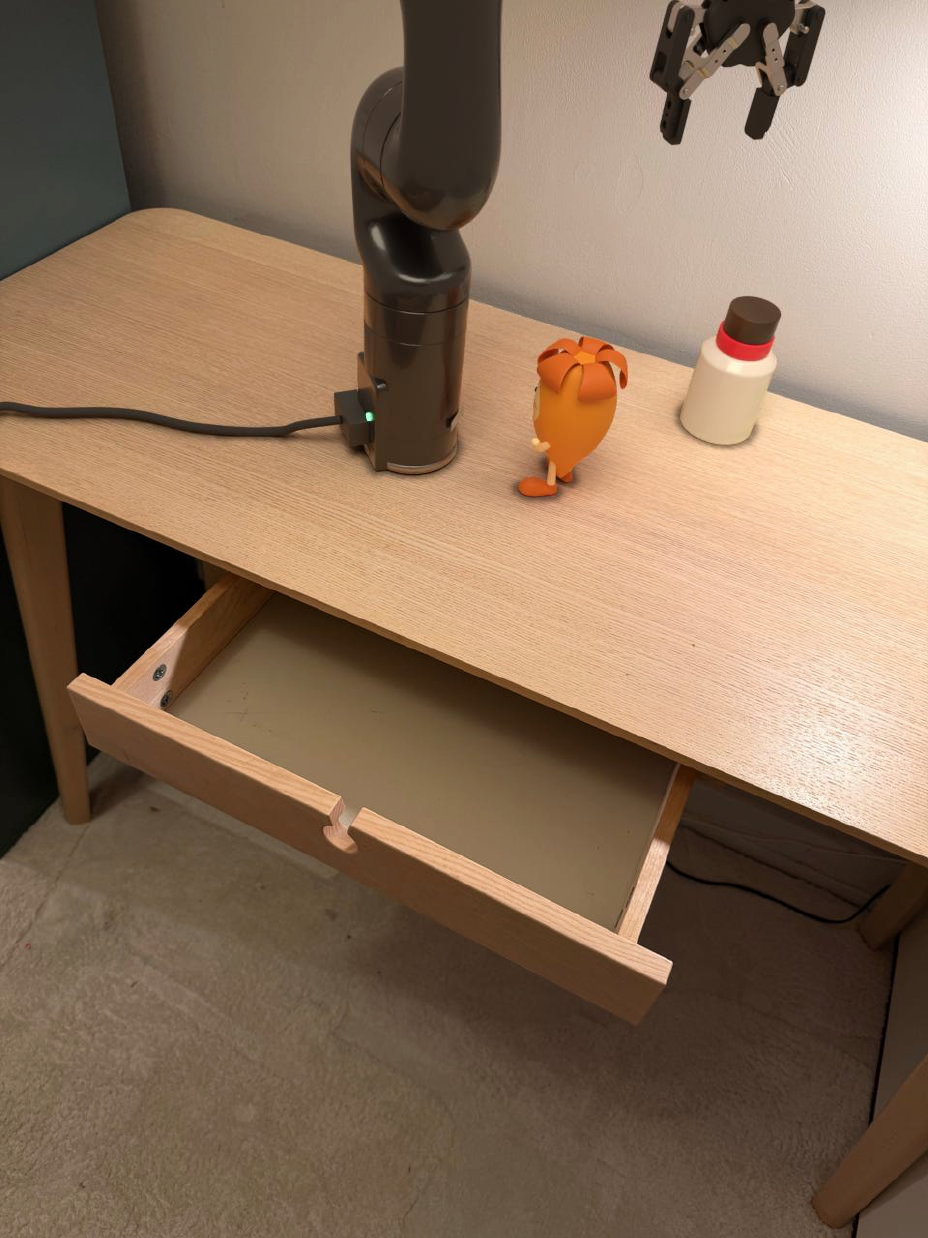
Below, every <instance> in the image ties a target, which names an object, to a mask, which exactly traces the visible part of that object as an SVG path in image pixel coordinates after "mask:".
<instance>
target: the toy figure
mask: <svg viewBox="0 0 928 1238" xmlns="http://www.w3.org/2000/svg"><path fill="white" fill-rule="evenodd" d="M560 350H562V351H560ZM536 363H537V366H536V370H535V371H536V373H537V375H538V377H539V380H538V383H537V386H535V388H534V398H533V405H532V423H533V428H534V432H535V435H536V437H533V438H532V439H531V440H530V446H531V448H532V450H534V451H536V452H538V453H542V452H544V453H545V455H546V457H547V460H546V466H547V468H548V470H547V476H546V480H544V479H543V478H540V477H536V476H529V477H525V478H523V479H522V480H521V481H520V482H519V484H518V490H519V492H520V494H522V495H524V496H527V497H543V496H552V495H555V494H556V493H557V492H558V486H557V481H556V477H557V478H558V479H560V480H561V481H563V482H566V483H569V482H571V481H572V480H573V469H574V468H575V467H576V466H577V465H578V464H579V463H580V462H581V461H583V460H584V459H585V458H586V457H587V456H588V455H590V454H591V453H592V452H593V451H594V450H595V449H596V448H598V446H600V444H601V443H602V441H603V440H604V438H605V437H606V435H607V434H608V432H609V430H610V428H611V426H612V424H613V421H614V418H615V415H616V410H617V404H618V386H617V381H616V377H615V373H614V370H613V367H612V364H614V365H615V366H616V367H617V368H618V369H620V371H619V376H618V380H619V381H618V382H619V387H620V389H621V390H625V389H626V387H627V386H628V383H629V370H628V362H627V358H626V356H625V355H624V354H623V353H621V352H620V351H618V350H615V348H614V346H613V345H612V344H610V343H608V342H607V341H604V340H601V339H598V338H594V337H591V336H586V335H582V336H581V337H580V338H579V339H578V342H576V340H574V339H572V338H568V337H563V338H560V339H558V340H556V341H554V342H553V343H552V344H550V345H549V346H548V347H546V348H545V349H544V350H543V351H542V352H541V353H540V354H539V355H538V357H537V361H536ZM611 363H612V364H611Z"/></svg>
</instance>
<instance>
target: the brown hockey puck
mask: <svg viewBox="0 0 928 1238" xmlns="http://www.w3.org/2000/svg"><path fill="white" fill-rule="evenodd" d="M781 318H782V311H781V309H780V307H778V306H777V305H776V304H775V303H773V302H771V301H770V300H768V299H765V298H763V297H760V296H759V297H758V296H755V295H754V296H752V295H742V296H737V297H735V298H733V299H732V300H731V301H730V302H729V306H728V308H727V312H726V315H725V317H724V320H725V321H724V320H723V321H724V324H723V329H724V331H725V333H726V334H727V335H728V336H729V337H731V338H732V339H734V340H736V341H738V342H741V343H744V344H749V345H763V344H767V343H769V342H770V341H771V340H772V339H773V337H774V335H775V334H776V331H777V329H778V326H779V323H780V321H781Z"/></svg>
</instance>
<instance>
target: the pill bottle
mask: <svg viewBox="0 0 928 1238" xmlns="http://www.w3.org/2000/svg"><path fill="white" fill-rule="evenodd" d="M724 321H725V319H723V320H722V321H721V323H720V324H719V327H718V330H717V333H715V334H713V335H711V336H709V337H707V338H706V339H705V340H704V341H703V343H702V344H701V346H700V349H699V352H698V356H697V358H696V362H695V365H694V369H693V371H692V375H691V377H690V381H689V384H688V387H687V391H686V394H685V397H684V400H683V403H682V407H681V410H680V415H679V418H680V423H681V425H682V426H683V428H684V429H685V430H686V431H687V432H688V433H689V434H691V435H692V436H694V437H695V438H697V439H699V440H701V441H703V442H706V443H710V444H713V445H721V446H729V445H730V446H731V445H736V444H740V443H742V442H744V441H746V440H747V439H748V438H749V437H750V435H751V434H752V431H753V430H754V429H753V428H754V426H755V423H756V422H757V419H758V416H759V414H760V411H761V408H762V405H763V403H764V401H765V398H766V396H767V393H768V391H769V387H770V385H771V383H772V380H773V378H774V374H775V372H776V369H777V367H778V357H777V356H776V353H775V352H774V350H773V348H772V347H773V345H774V343H775V339H776V335H775V334H774V337H773V339H772V340H771V341H770V342H769V343H767V344H763V345H749V344H744V343H741V342H738V341H736V340H734V339H732V338H731V337H729V336H728V335H727V334H726V333H725V331H724V329H723V324H724Z"/></svg>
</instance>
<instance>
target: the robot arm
mask: <svg viewBox="0 0 928 1238" xmlns="http://www.w3.org/2000/svg"><path fill="white" fill-rule="evenodd" d="M399 6H400V11H401V12H400V13H401V20H402V22H401V23H402V32H403V65H401V66H396V67H393V68H390V69H388V70H386V71H383V73H381V74H379V75H378V76H377V77H375V78H374V79H373V80H372V81H371V83H370V84H369V85H368V86H367V88H366V89H365V91H363V94H362V96H361V98H360V99H359V101H358V104H357V106H356V110H355V113H354V117H353V120H352V126H351V130H350V131H351V132H350V146H349V150H350V151H349V156H350V157H349V159H350V160H349V161H350V163H349V164H350V186H351V203H352V204H351V205H352V220H353V221H352V223H353V224H352V225H353V235H354V240H355V245H356V249H357V253H358V256H359V258H360V259H359V260H360V262H361V266H362V273H363V274H362V277H363V278H362V279H363V280H362V281H363V286H362V287H363V351H359V352H358V353H357V355H356V364H357V365H356V369H357V370H356V371H357V389H355V388H354V389H347V390H342V391H335V392H333V406H334V407H333V409H334V415H331V416H324V417H322V416H321V417H315V418H308V419H303V420H297V421H294V422H291V423H288V424H286V425H285V424H284V425H280V426H262V427H261V426H259V427H257V426H256V427H255V426H250V427H249V426H236V425H235V426H233V425H223V424H222V425H221V424H213V423H204V422H195V421H190V420H185V419H181V418H176V417H172V416H167V415H164V414H159V413H156V412H152V411H147V410H140V409H135V408H127V407H125V408H124V407H115V406H114V407H112V406H111V407H110V406H74V407H72V406H71V407H69V406H68V407H60V406H59V407H58V406H57V407H55V406H54V407H53V406H52V407H51V406H49V407H48V406H37V405H30V404H26V403H20V402H14V401H0V412H14V413H20V414H24V415H29V416H37V417H52V418H54V417H55V418H58V417H59V418H60V417H63V418H64V417H65V418H66V417H67V418H69V417H72V418H73V417H112V418H113V417H115V418H125V419H126V418H127V419H134V420H135V419H136V420H141V421H146V422H150V423H155V424H159V425H164V426H167V427H171V428H175V429H180V430H185V431H190V432H196V433H203V434H212V435H222V436H235V437H277V436H278V437H279V436H286V435H290V434H293V433H295V432H298V431H303V430H309V429H315V428H323V427H331V426H339V427H340V429H341V432H342V434H343V436H344V438H345V440H346V443H347V445H348V447H350V448H353V447H356V446H363V449H364V452H365V454H366V455H367V456H368V459H369V461H370V462H371V465H372V467H373V468H374V471H378V472H379V471H384V470H388V471H391V472H395V473H400V474H407V475H419V474H426V473H430V472H435V471H437V470H439V469H442V468H443V467H445V466H446V465H448V464H449V463H450V462H452V460H453V459H454V458H455V456H456V454H457V451H458V442H459V441H458V440H459V439H458V437H459V421H460V420H461V418H462V417H463V415H464V408H465V407H464V405H462V407H461V408H460V406H461V395H462V386H463V385H462V384H463V374H464V373H463V372H464V360H465V348H466V340H467V339H466V338H467V337H466V336H467V329H468V328H467V326H468V317H469V304H470V295H471V294H470V292H471V286H472V274H473V273H472V272H473V270H472V269H473V267H472V259H471V254H470V252H469V250H468V248H467V245H466V243H465V241H464V238H463V237H462V234H461V231H460V229H462V228H464V227H465V226H467V225H468V224H470V223H471V222H472V221H473V220H474V219H475V218H476V217H477V216H478V215H479V214H480V213H481V211H482V210H483V209H484V207H485V205H487V202H488V200H489V199H490V197H491V194H492V193H493V190H494V187H495V184H496V182H497V178H498V175H499V170H500V164H501V158H502V157H501V156H502V144H503V143H502V140H503V139H502V136H503V101H502V99H503V94H502V91H503V90H502V89H503V87H502V81H503V80H502V78H503V77H502V33H503V32H502V30H503V7H504V0H399ZM826 13H827V12H826V9H825V8H824V7H823V6H821V5H820V4H818V3H816V2H814V1H812V0H799V1H798V3H796V0H703V1H702V2H701V4H700V5H699V4H686V3H684V2H683V1H680V0H671V1H669V2H668V4H667V6H666V11H665V14H664V18H663V22H662V25H661V28H660V33H659V37H658V39H657V44H656V48H655V50H654V51H655V52H654V56H653V59H652V63H651V67H650V69H649V70H650V71H649V73H648V74H649V75H648V77H649V80H650V81H651V82H652V83H653V84H655V85H656V86H657V87H659V88H660V89H661V90H662V91H664V92H665V93H666V97H665V101H664V105H663V109H662V114H661V119H660V122H659V132H660V133H661V134H662V138H663V140H664V141H665V142H667V143H668V144H669V145H670V146H680V145H681V143H682V142H683V137H684V133H685V128H686V124H687V121H688V117H689V113H690V109H691V105H692V99H691V96H692V95H693V94H694V93H695V91H696V90H697V89H698V87H700V85H701V84H702V83H703V82H704V81H705V80H706V79H709V78H711V77H712V76H714V74H716V72H717V71H718V69H719V68H720V67H722V68H733V67H736V66H739V65H741V66H744V67H747V68H748V67H751V68H752V67H753V68H754V67H755V70H756V75H757V77H758V81H759V84H760V85H761V87H759V86H758V87H755V90H754V94H753V97H752V101H751V105H750V107H749V110H748V113H747V117H746V120H745V124H744V127H743V128H744V129H743V130H744V134H745V135H746V136H748V137H749V138H750V139H752V140H753V141H759V140H763V139H764V137H765V135H766V133H768V131H769V130H770V128H771V127H772V123H773V119H774V118H775V113H776V112H777V111H776V110H777V109H778V104H779V102H780V98H781V96H782V95H784V93H785V92H787V91H786V90H787V89H788V90H789V89H790V88H791V87H794V86H795V87H797V88H801V87H802V86H803V85H804V84H805V83H806V82H807V79H808V75H809V72H810V69H811V66H812V62H813V59H814V55H815V51H816V48H817V45H818V42H819V37H820V35H821V30H822V27H823V24H824V20H825V17H826ZM697 26H698V28H699V31H700V32H699V33H698V34H697V36H696V37H695V38H694V39H693V40H692V41H691V43H690V44H689V45H688V43H689V39H690V37H692V36H694V35H695V34H696V27H697ZM788 29H789V32H788V33H789V34H788V37H787V41H786V44H785V49H784V52H783V51H782V48H781V43H780V39H781V38H782V36H783V35H784V34H785V33H786V32H787V31H788ZM687 46H688V47H687ZM705 51H706V54H707V56H705V57H702V55H703V54H704V52H705Z"/></svg>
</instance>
